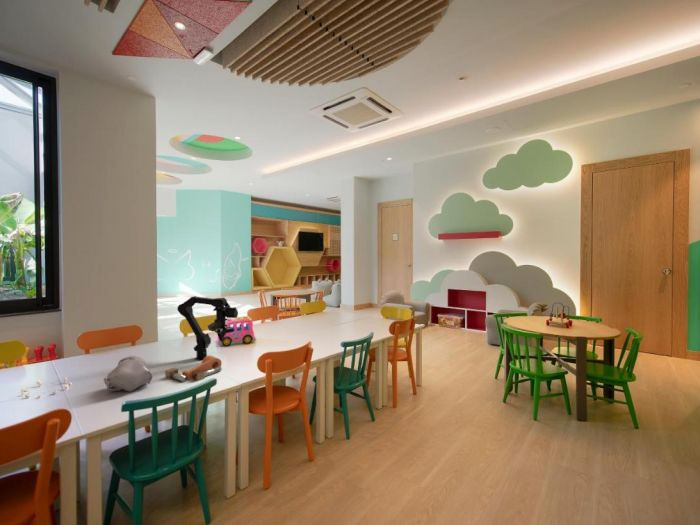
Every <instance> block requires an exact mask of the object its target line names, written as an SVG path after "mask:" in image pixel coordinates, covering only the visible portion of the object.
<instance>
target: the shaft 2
mask: <svg viewBox="0 0 700 525" xmlns="http://www.w3.org/2000/svg"><path fill="white" fill-rule="evenodd" d="M221 371H222V365H221V366H218V367H215V368H212V369H209V370H206V371H201V370H197V371H194V372H192V379H191V380H194V381H196V382H199V381H201V380H204V379H205V377H208V376H211V375H215V374H216V373H219V372H221Z"/></svg>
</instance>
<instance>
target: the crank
mask: <svg viewBox="0 0 700 525" xmlns="http://www.w3.org/2000/svg"><path fill="white" fill-rule="evenodd" d="M201 361H202V362H201V363H200V364H198V365H196V366H195V367H193V368H191V369H189V370H187V369H186V370H183V371H182V373H181V375H183V376H186V377H187V380H186V381H189V380H193V379H192V372H194V371H197V370H201V371H206V370H209V369H212V368H215V367H218V366H221V367H222V360H221V359H220V358H217V357H215V356H213V355H207V356H206V357H205V358H204V359H203V360H201Z"/></svg>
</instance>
